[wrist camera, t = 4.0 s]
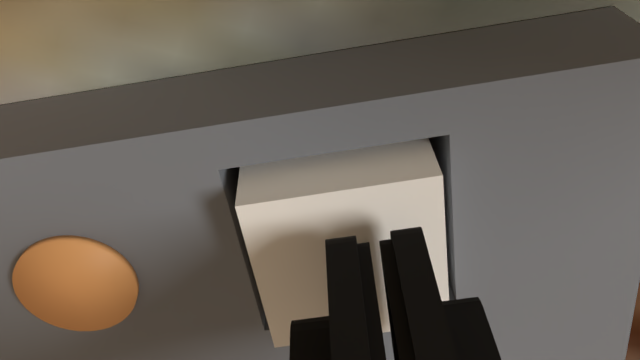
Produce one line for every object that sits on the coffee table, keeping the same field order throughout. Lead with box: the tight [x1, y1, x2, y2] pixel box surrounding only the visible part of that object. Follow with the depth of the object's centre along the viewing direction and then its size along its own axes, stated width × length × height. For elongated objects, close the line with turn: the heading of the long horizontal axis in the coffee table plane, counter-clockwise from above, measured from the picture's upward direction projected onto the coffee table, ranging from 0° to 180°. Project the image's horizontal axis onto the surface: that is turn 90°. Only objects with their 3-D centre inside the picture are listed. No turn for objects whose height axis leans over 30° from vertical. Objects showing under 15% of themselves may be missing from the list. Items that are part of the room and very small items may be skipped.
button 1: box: [235, 138, 449, 348], centre depth 13 cm, size 4×4×3 cm
